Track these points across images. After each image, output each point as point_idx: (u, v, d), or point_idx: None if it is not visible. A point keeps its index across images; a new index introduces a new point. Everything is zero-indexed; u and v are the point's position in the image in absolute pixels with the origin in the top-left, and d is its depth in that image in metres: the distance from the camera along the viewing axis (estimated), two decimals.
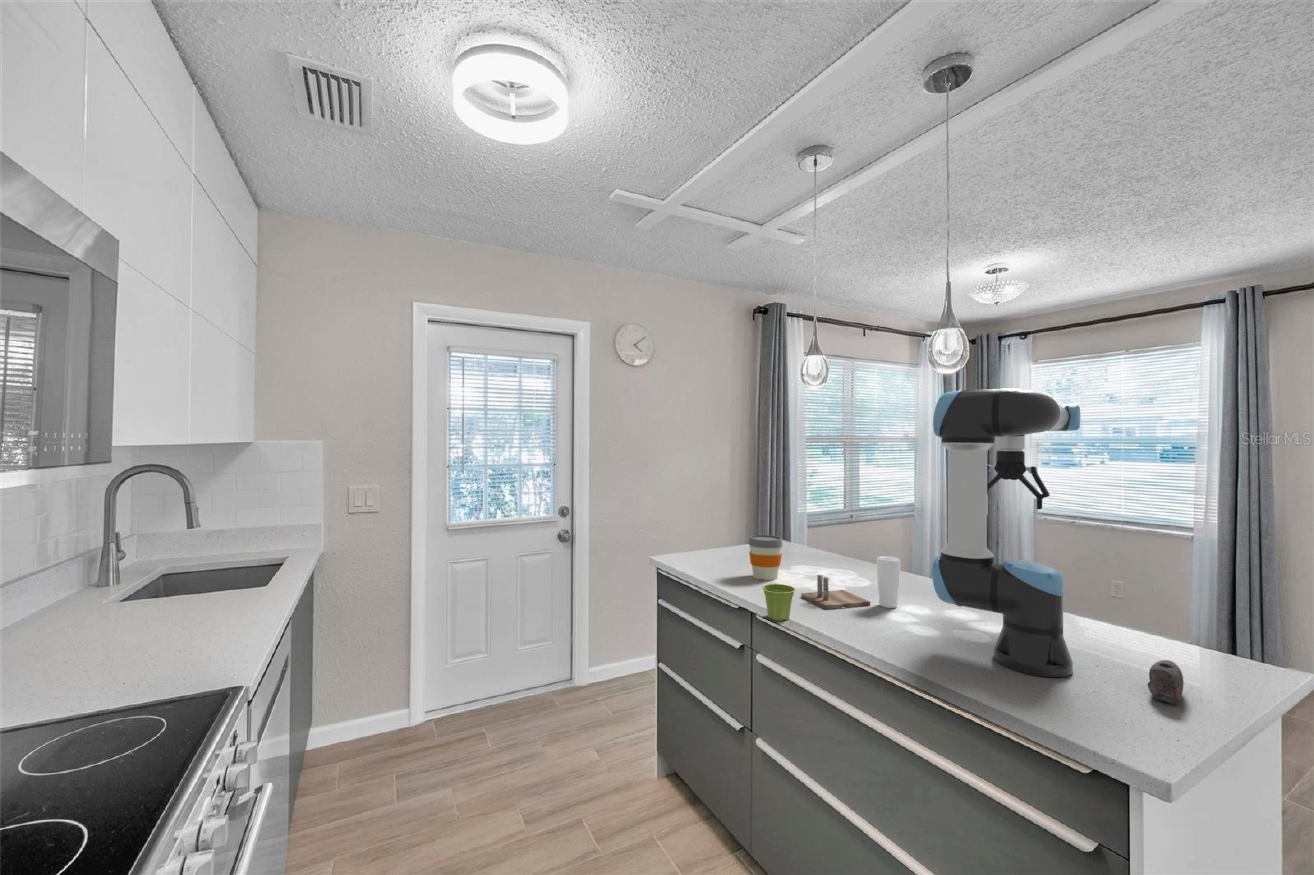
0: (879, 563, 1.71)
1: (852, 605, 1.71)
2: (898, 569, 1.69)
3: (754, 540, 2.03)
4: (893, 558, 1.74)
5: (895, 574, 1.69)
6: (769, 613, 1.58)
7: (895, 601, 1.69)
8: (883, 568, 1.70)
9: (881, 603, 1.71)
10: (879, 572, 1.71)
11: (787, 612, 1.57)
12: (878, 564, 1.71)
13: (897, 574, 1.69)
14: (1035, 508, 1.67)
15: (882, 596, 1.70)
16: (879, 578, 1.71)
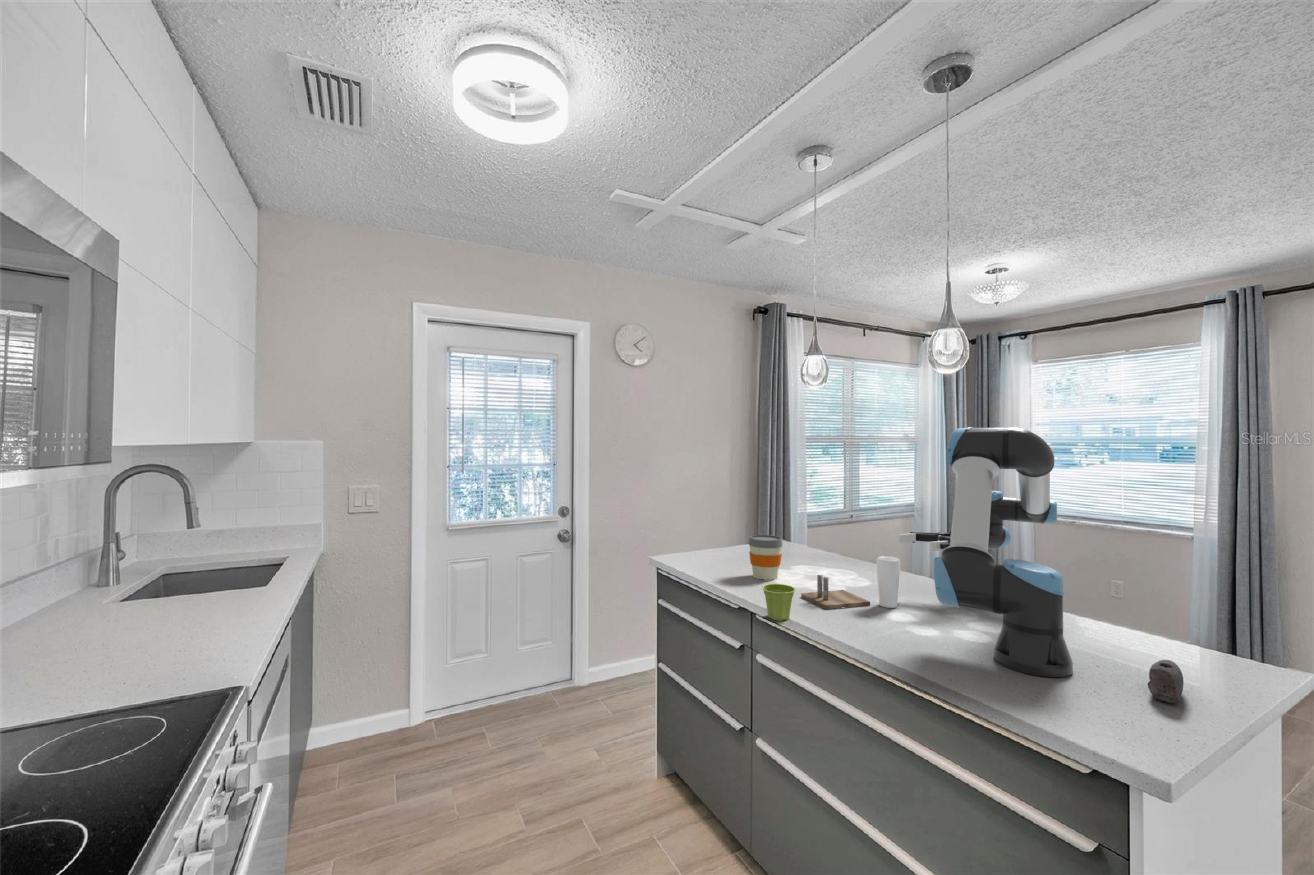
0: (879, 563, 1.71)
1: (852, 605, 1.71)
2: (898, 569, 1.69)
3: (754, 540, 2.03)
4: (893, 558, 1.74)
5: (895, 574, 1.69)
6: (769, 613, 1.58)
7: (895, 601, 1.69)
8: (883, 568, 1.70)
9: (881, 603, 1.71)
10: (879, 572, 1.71)
11: (787, 612, 1.57)
12: (878, 564, 1.71)
13: (897, 574, 1.69)
14: (940, 541, 1.69)
15: (882, 596, 1.70)
16: (879, 578, 1.71)
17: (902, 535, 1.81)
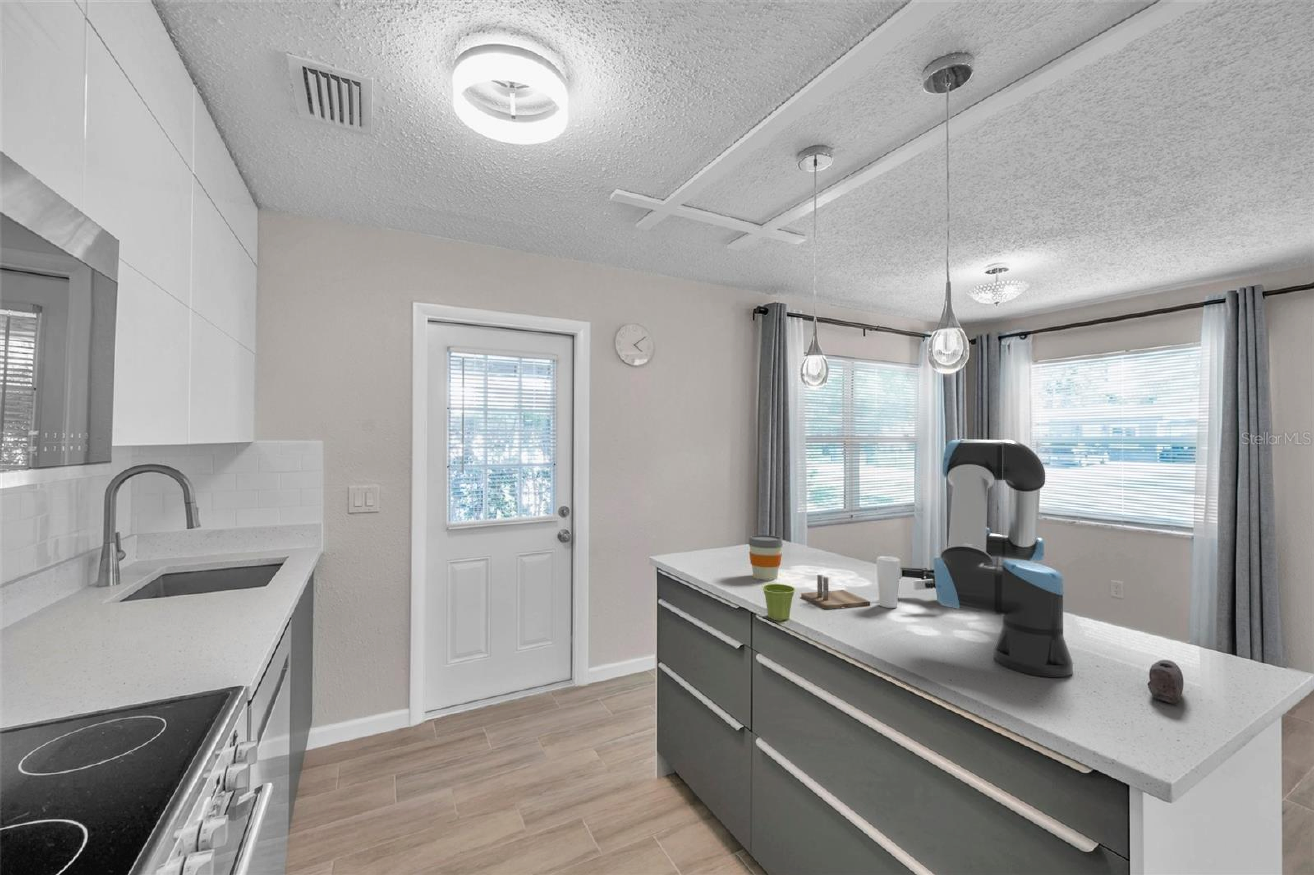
0: (879, 563, 1.71)
1: (852, 605, 1.71)
2: (898, 569, 1.69)
3: (754, 540, 2.03)
4: (893, 558, 1.74)
5: (895, 574, 1.69)
6: (769, 613, 1.58)
7: (895, 601, 1.69)
8: (883, 568, 1.70)
9: (881, 603, 1.71)
10: (879, 572, 1.71)
11: (787, 612, 1.57)
12: (878, 564, 1.71)
13: (897, 574, 1.69)
14: (925, 580, 1.68)
15: (882, 596, 1.70)
16: (879, 578, 1.71)
17: None
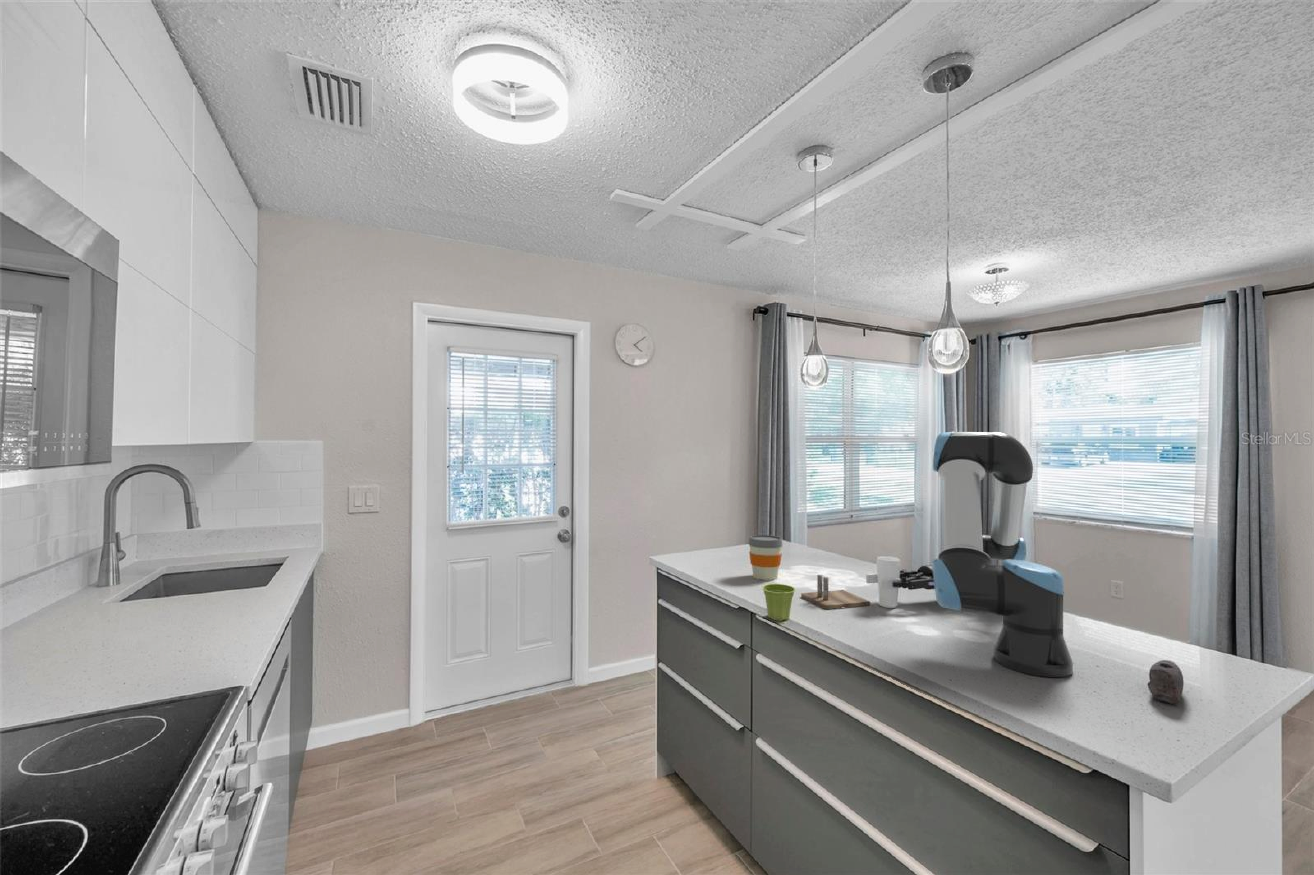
0: (879, 563, 1.71)
1: (852, 605, 1.71)
2: (898, 569, 1.69)
3: (754, 540, 2.03)
4: (893, 558, 1.74)
5: (895, 574, 1.69)
6: (769, 613, 1.58)
7: (895, 601, 1.69)
8: (883, 568, 1.70)
9: (881, 603, 1.71)
10: (879, 572, 1.71)
11: (787, 612, 1.57)
12: (878, 564, 1.71)
13: (897, 574, 1.69)
14: (892, 579, 1.68)
15: (882, 596, 1.70)
16: (879, 578, 1.71)
17: (870, 575, 1.74)
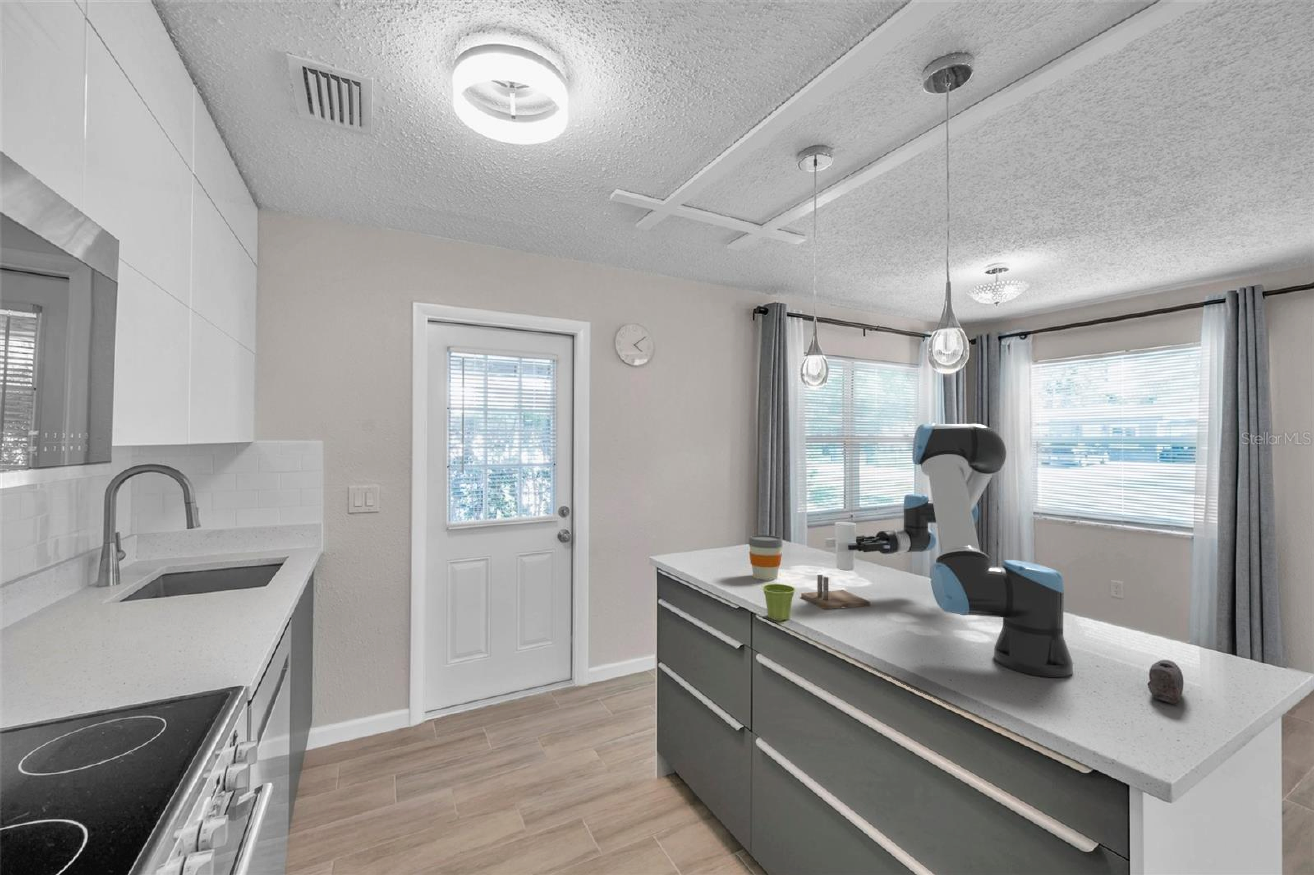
0: (836, 527, 1.77)
1: (852, 605, 1.71)
2: (854, 533, 1.75)
3: (754, 540, 2.03)
4: (850, 523, 1.80)
5: (851, 537, 1.75)
6: (769, 613, 1.58)
7: (851, 564, 1.76)
8: (840, 532, 1.76)
9: (838, 566, 1.77)
10: (836, 536, 1.77)
11: (787, 612, 1.57)
12: (835, 528, 1.78)
13: (853, 538, 1.75)
14: (848, 542, 1.74)
15: (839, 559, 1.77)
16: (836, 542, 1.77)
17: (828, 540, 1.80)
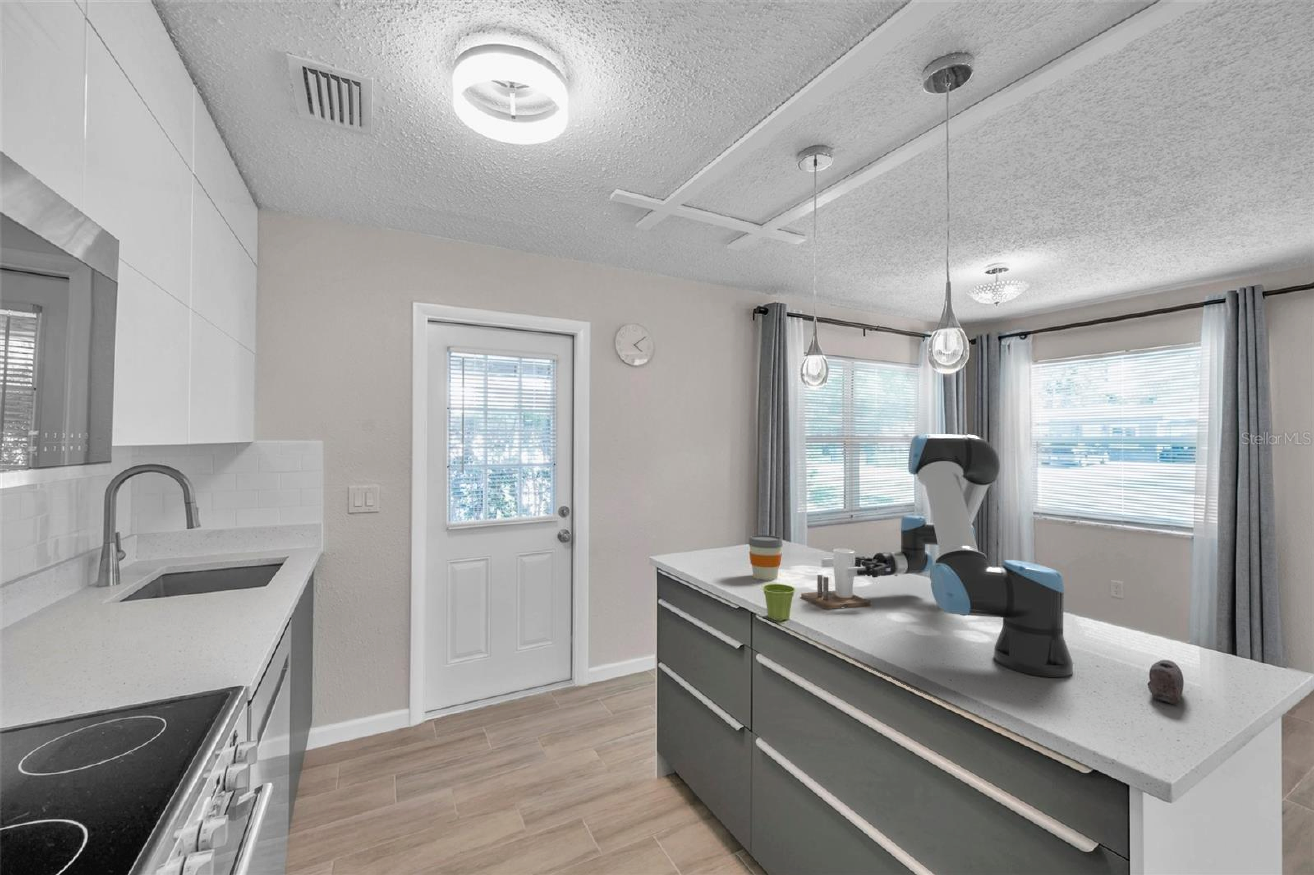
0: (835, 555, 1.77)
1: (852, 605, 1.71)
2: (853, 561, 1.75)
3: (754, 540, 2.03)
4: (849, 550, 1.79)
5: (849, 565, 1.74)
6: (769, 613, 1.58)
7: (850, 592, 1.75)
8: (838, 560, 1.75)
9: (837, 594, 1.77)
10: (835, 564, 1.76)
11: (787, 612, 1.57)
12: (834, 556, 1.77)
13: (852, 565, 1.75)
14: (857, 567, 1.71)
15: (838, 587, 1.76)
16: (835, 569, 1.77)
17: (825, 560, 1.83)
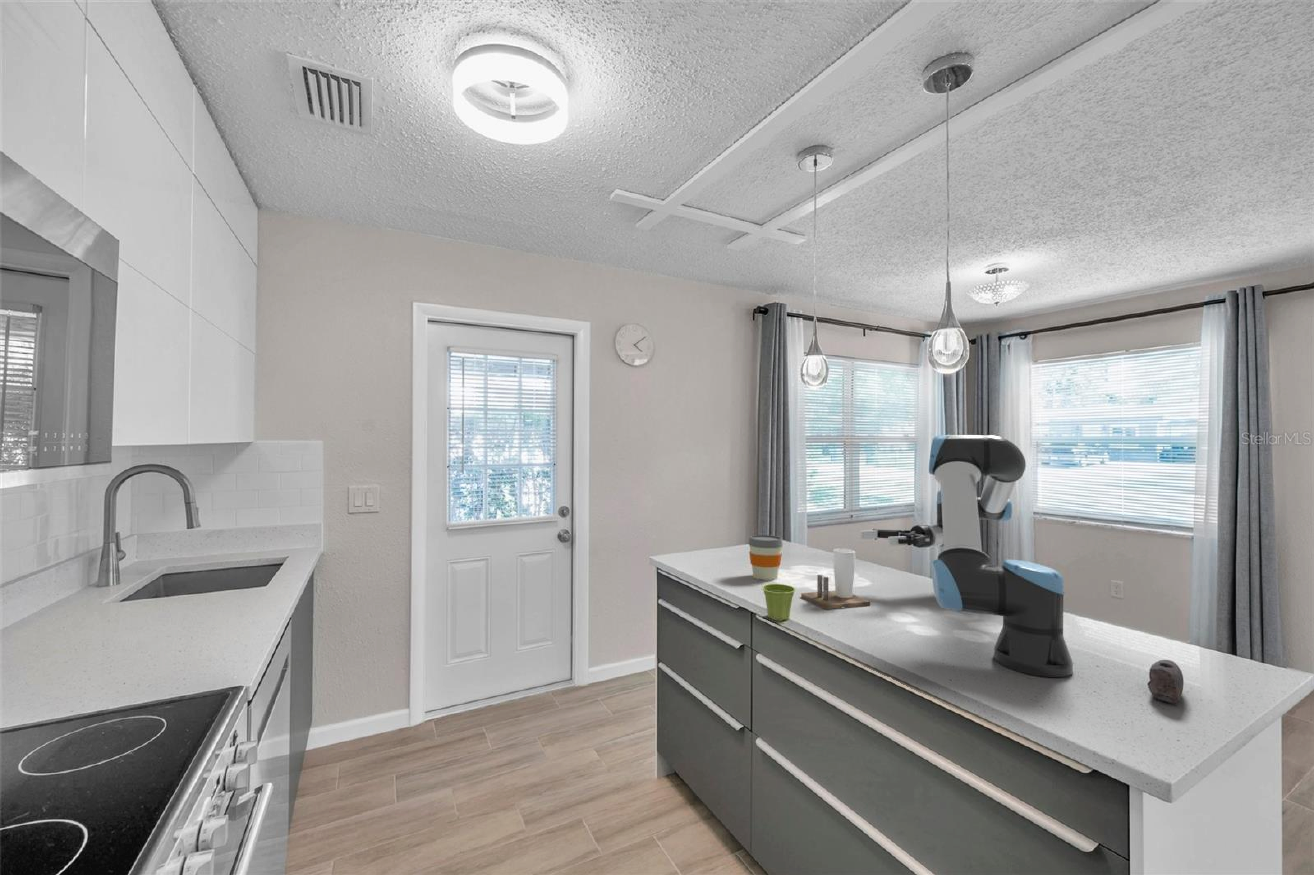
0: (835, 555, 1.77)
1: (852, 605, 1.71)
2: (853, 561, 1.75)
3: (754, 540, 2.03)
4: (849, 550, 1.79)
5: (849, 565, 1.74)
6: (769, 613, 1.58)
7: (850, 592, 1.75)
8: (838, 560, 1.75)
9: (837, 594, 1.77)
10: (835, 564, 1.76)
11: (787, 612, 1.57)
12: (834, 556, 1.77)
13: (852, 565, 1.75)
14: (898, 536, 1.76)
15: (838, 587, 1.76)
16: (835, 569, 1.77)
17: (864, 532, 1.88)
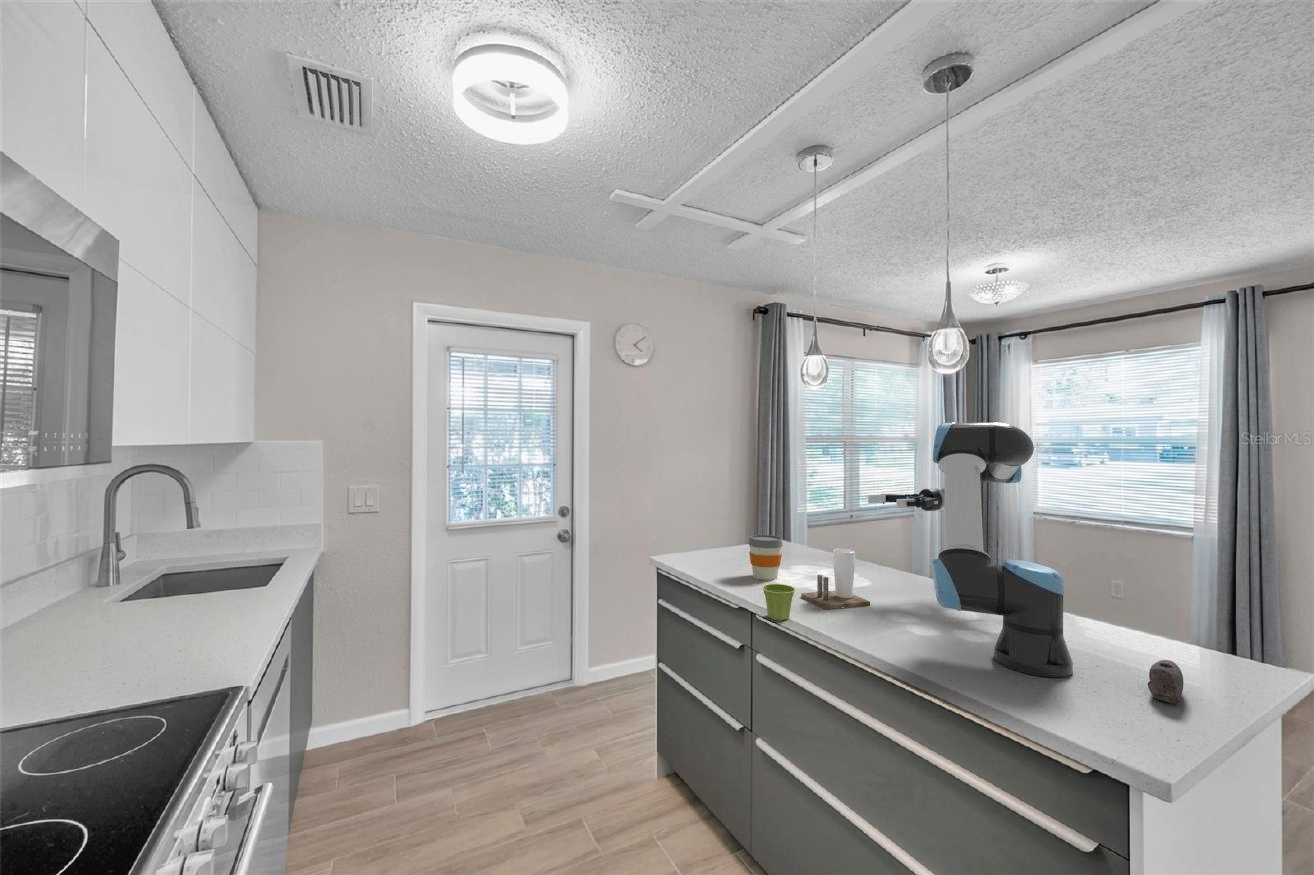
0: (835, 555, 1.77)
1: (852, 605, 1.71)
2: (853, 561, 1.75)
3: (754, 540, 2.03)
4: (849, 550, 1.79)
5: (849, 565, 1.74)
6: (769, 613, 1.58)
7: (850, 592, 1.75)
8: (838, 560, 1.75)
9: (837, 594, 1.77)
10: (835, 564, 1.76)
11: (787, 612, 1.57)
12: (834, 556, 1.77)
13: (852, 565, 1.75)
14: (906, 499, 1.75)
15: (838, 587, 1.76)
16: (835, 569, 1.77)
17: (872, 496, 1.87)
